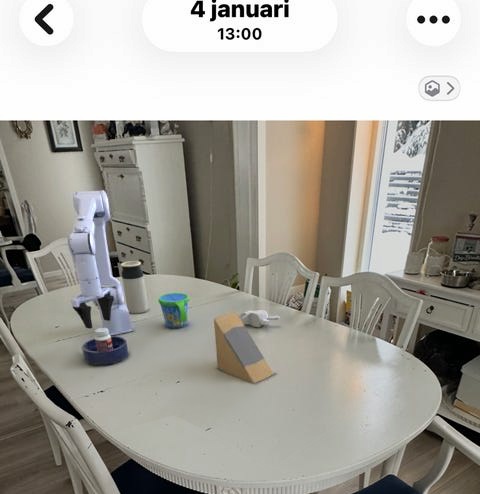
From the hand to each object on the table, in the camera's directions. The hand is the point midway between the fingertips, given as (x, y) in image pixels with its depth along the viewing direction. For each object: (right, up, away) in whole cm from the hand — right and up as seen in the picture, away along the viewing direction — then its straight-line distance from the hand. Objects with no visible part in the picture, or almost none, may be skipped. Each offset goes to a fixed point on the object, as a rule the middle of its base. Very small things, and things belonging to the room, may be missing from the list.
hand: (98, 324), depth 141 cm
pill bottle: (+1, -9, +4) cm, 10 cm away
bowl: (+1, -9, +4) cm, 10 cm away
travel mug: (+3, +16, +44) cm, 46 cm away
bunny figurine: (+49, +5, +24) cm, 55 cm away
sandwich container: (+45, -16, -8) cm, 48 cm away
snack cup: (+20, +6, +27) cm, 35 cm away
